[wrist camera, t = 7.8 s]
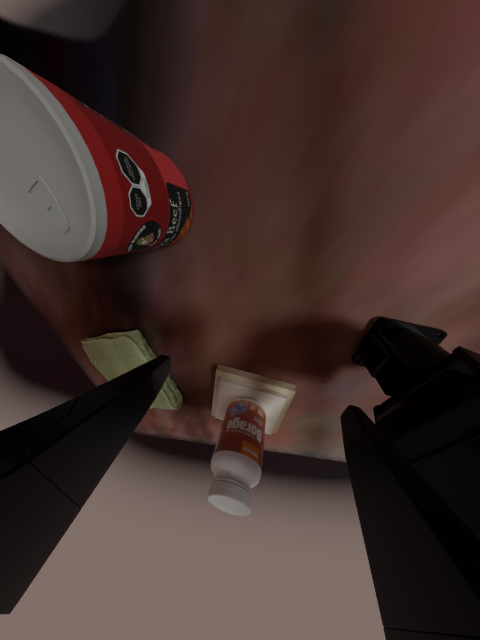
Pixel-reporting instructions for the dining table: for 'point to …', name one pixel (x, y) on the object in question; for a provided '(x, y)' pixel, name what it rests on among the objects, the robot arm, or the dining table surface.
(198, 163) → the dining table surface
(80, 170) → the canned food
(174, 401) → the washcloth
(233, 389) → the stand
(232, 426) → the pill bottle
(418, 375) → the robot arm
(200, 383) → the dining table surface
